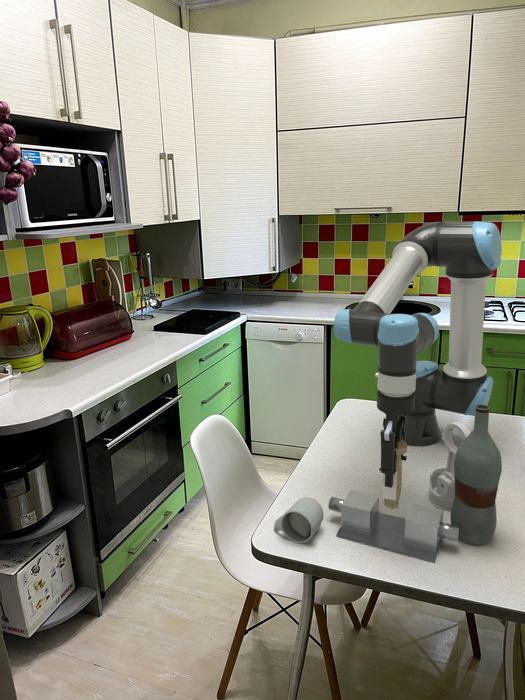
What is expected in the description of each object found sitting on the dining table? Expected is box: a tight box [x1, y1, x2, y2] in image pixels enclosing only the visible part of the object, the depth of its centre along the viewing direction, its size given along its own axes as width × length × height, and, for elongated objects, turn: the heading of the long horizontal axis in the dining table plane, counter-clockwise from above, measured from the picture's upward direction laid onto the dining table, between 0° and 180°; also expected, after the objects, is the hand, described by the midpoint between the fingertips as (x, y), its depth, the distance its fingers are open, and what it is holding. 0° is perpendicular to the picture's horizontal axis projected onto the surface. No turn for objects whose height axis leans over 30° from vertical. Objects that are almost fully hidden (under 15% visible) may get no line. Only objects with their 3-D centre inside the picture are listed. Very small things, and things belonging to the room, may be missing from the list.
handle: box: [383, 440, 408, 510], centre depth 113 cm, size 5×6×15 cm
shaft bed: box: [328, 489, 460, 564], centre depth 116 cm, size 12×28×7 cm, turn 63°
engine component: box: [428, 421, 472, 512], centre depth 126 cm, size 11×20×10 cm
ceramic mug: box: [274, 496, 325, 544], centre depth 118 cm, size 11×8×8 cm
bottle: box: [449, 404, 503, 547], centre depth 111 cm, size 9×9×30 cm
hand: (392, 492), depth 114 cm, fingers closed on handle, 4 cm apart
